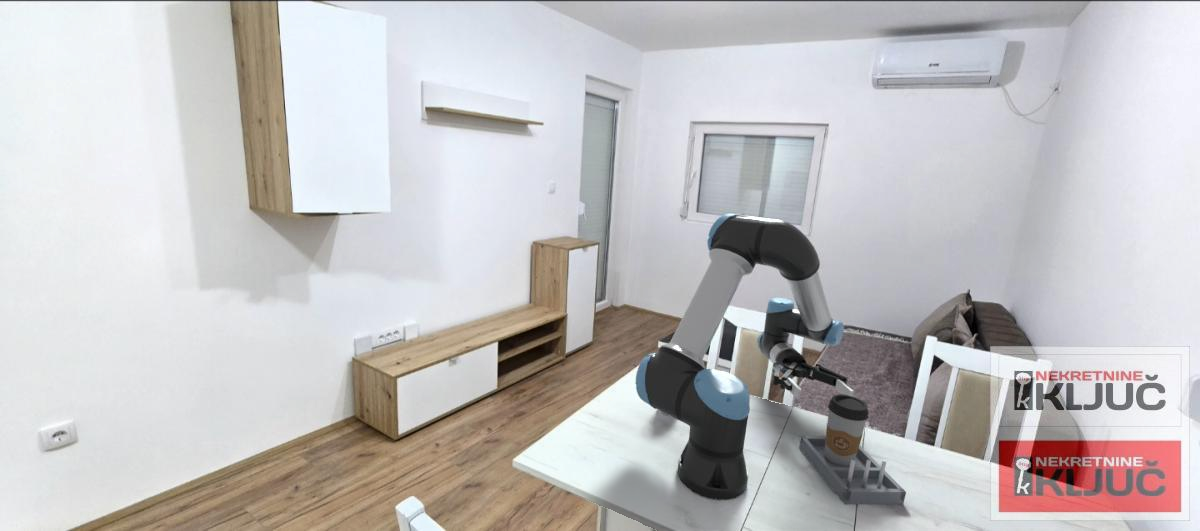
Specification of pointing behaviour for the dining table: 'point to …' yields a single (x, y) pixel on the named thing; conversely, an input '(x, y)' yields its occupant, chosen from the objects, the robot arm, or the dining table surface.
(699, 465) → the robot arm
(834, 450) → the coffee cup
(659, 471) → the dining table surface
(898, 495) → the dish rack
